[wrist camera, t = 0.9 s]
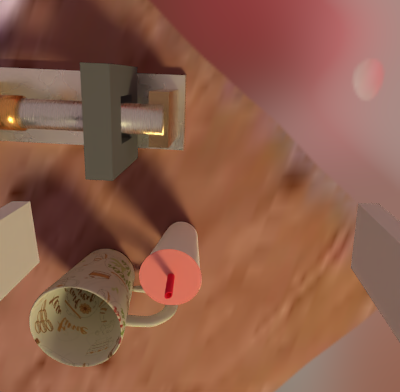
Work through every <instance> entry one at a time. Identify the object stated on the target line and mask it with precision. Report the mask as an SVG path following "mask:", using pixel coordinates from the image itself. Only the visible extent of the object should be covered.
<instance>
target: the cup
mask: <svg viewBox="0 0 400 392" xmlns="http://www.w3.org/2000/svg"><path fill="white" fill-rule="evenodd" d="M139 279H140V284H141V286H142V288H143V290H144V291H145V293H146V294H147V295H148V296H149V297H150V298H152V299H153V300H155V301H157V302H159V303H162V304H165V305H179V304H183V303H185V302H188V301H189V300H191V299H192V298H193V297H194V296H195V295H196V294H197V293H198V291H199V289H200V287H201V282H202V275H201V271H200V264H199V249H198V237H197V232H196V230H195V228H194V227H193V226H192V225H190V224H189V223H186V222H176V223H173V224H172V225H170V226H169V228H168V229H167V231H166V232H165V233H164V235H163V236H162V237H161V239H160V240H159V242H158V243H157V245H156V246H155V248H154V249H153V251H152V252H151V254H150V255H149V256H148V257H147V258H146V259H145V260H144V261H143V263H142V265H141V267H140V271H139Z"/></svg>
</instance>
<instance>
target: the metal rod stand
mask: <svg viewBox="0 0 400 392" xmlns="http://www.w3.org/2000/svg"><path fill="white" fill-rule="evenodd" d="M185 103H186V75H168V74H145V73H137V103H121V133H125V134H138V148H151V149H171V150H184V138H185ZM0 141H18V142H37V143H56V144H75V145H84V137H83V117H82V97H81V77H80V71H75V70H52V69H29V68H6V67H0Z"/></svg>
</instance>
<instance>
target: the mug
mask: <svg viewBox="0 0 400 392" xmlns="http://www.w3.org/2000/svg"><path fill="white" fill-rule="evenodd" d="M134 278H135V273H134V268H133V266H132V264H131V262H130V261H129V259H128V258H127V257H126V256H125V255H123V254H122V253H120V252H118V251H116V250H112V249H99V250H96V251H94V252H92V253H90V254H89V255H88V256H86V257H85V258H84V259H83V260H82V261H80V262H79V263H78V264H77V265H76V266H74V267H73V268H72V269H71V270H69V271H68V272H67V273H66V274H65V275H63V276H62V277H61V278H60V279H59V280H57V281H56V282H55V283H54V284H53V285H51V286H50V287H49V288H48V289H47V290H45V291H44V292H43V293H42V294H41V295H40V296H39V297H38V299H37V300H36V301H35V303H34V305H33V307H32V309H31V312H30V318H29V324H30V330H31V333H32V336H33V338H34V340H35V341H36V343H37V344H38V346H39V347H40V348H41V349H42V350H43V351H44V352H45V353H46V354H47V355H49V356H50V357H51V358H53V359H55V360H57V361H59V362H61V363H64V364H67V365H70V366H77V367H88V366H94V365H97V364H100V363H102V362H104V361H106V360H108V359H109V358H110V357H111V356H112V355H113V354H114V353H115V352H116V351H117V349H118V348H119V346H120V344H121V341H122V338H123V335H124V331H125V326H133V327H153V326H157V325H159V324H162V323H164V322H165V321H167V320H169V319H170V318H171V317H172V316H173V315H174V314H175V312H176V310H177V307H178V305H165V307H164V309H163V310H162V311H160V312H159V313H157V314H154V315H152V316H135V315H128V310H129V305H130V300H131V295H132V291H135V292H142V293H145V291H144V290H143V288H142V286H133V284H134Z"/></svg>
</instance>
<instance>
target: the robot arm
mask: <svg viewBox="0 0 400 392" xmlns="http://www.w3.org/2000/svg"><path fill="white" fill-rule="evenodd" d="M39 262H40V261H39V255H38V249H37V242H36V236H35V229H34V223H33V217H32V210H31V204H30V201H12V202H10V203H8V204H7V205H5V206H3V207H1V208H0V301H1V300H2V299H3V298H4V297H5V296H6V295H7V294H8V293H9V292H10V291H11V290H12V289H13V288H14V287H15V286H16V285H17V284H18V283H19V282H20V281H21V280H22V279H23V278H24V277H25V276H26V275H27V274H28V273H29V272H30V271H31V270H32V269H33V268H34V267H35V266H36V265H37V264H38V263H39ZM351 268H352V270H353V271H354V273H355V275H356V276H357V278H358V279H359V281H360V282H361V284H362V285H363V287H364V288H365V290H366V291H367V293H368V294H369V296H370V298H371V299H372V301H373V302H374V304H375V305H376V307H377V308H378V310H379V311H380V313H381V314H382V316H383V317H384V319H385V320H386V322H387V324H388V325H389V327H390V328H391V330H392V331H393V333H394V334H395V336H396V337H397V339H398V340H399V342H400V221H399V220H398V219H396V218H395V217H394V216H393V215H392V214H390V213H389V212H388V211H387V210H386V209H384V208H383V207H382V206H381V205H380V204H358V210H357V219H356V228H355V237H354V245H353V254H352V263H351Z"/></svg>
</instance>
